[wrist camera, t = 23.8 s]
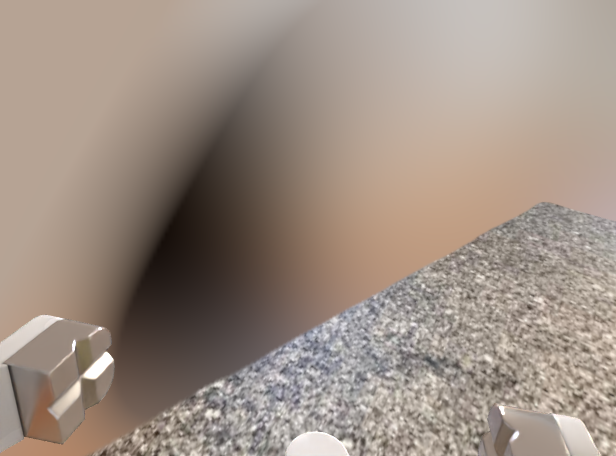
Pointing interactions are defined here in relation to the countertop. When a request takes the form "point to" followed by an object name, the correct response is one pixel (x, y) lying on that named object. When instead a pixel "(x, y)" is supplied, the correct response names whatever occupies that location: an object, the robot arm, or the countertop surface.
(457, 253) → the countertop surface
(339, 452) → the supplement bottle
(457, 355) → the countertop surface
